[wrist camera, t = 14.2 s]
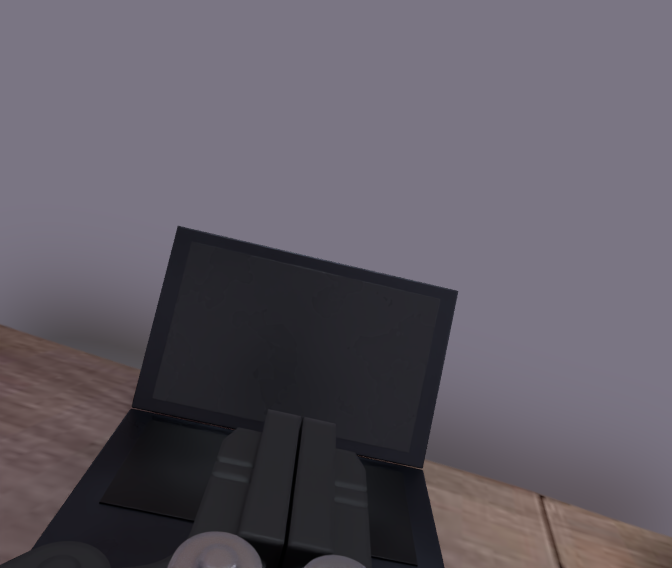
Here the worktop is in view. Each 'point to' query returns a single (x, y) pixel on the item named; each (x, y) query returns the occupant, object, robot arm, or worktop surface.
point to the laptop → (188, 489)
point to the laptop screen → (296, 345)
